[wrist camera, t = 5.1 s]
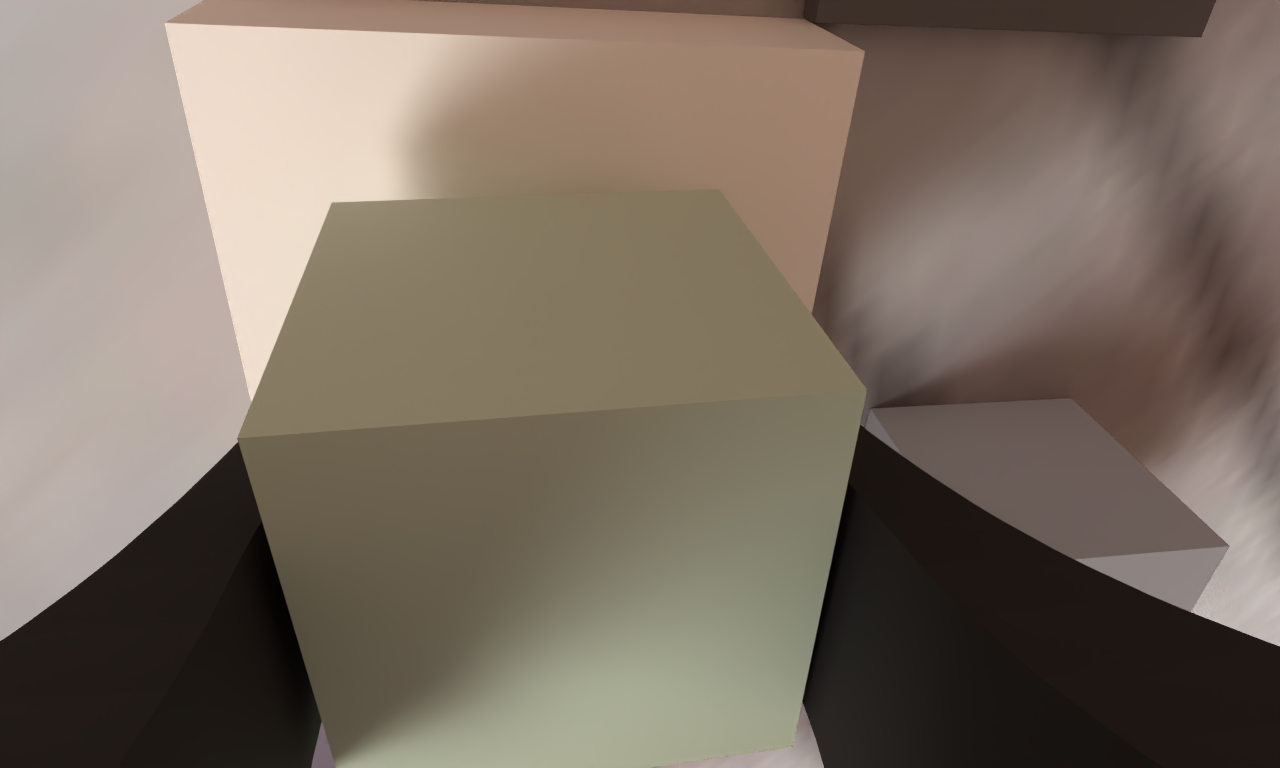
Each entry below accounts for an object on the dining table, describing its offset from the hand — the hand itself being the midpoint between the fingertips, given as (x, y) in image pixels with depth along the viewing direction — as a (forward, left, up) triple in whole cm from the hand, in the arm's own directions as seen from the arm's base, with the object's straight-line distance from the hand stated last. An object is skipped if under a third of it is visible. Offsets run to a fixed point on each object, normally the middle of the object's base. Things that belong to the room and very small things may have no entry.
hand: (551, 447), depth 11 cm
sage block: (0, 0, -2) cm, 2 cm away
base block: (0, 0, -6) cm, 6 cm away
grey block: (-6, -10, -6) cm, 13 cm away
